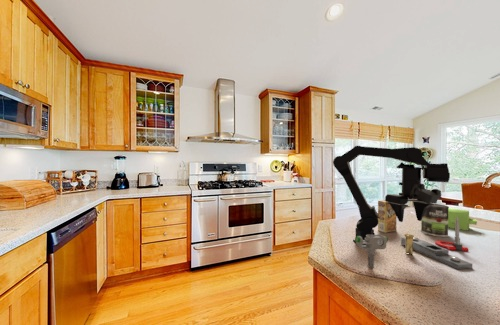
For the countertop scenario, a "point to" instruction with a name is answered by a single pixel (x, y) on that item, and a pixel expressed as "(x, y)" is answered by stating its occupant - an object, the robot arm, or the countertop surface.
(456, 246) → the tow hook
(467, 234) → the countertop surface
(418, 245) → the grey slotted bracket fixture
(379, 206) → the candy box
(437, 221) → the coffee can
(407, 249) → the pin
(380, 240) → the mechanical component
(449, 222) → the gearbox
